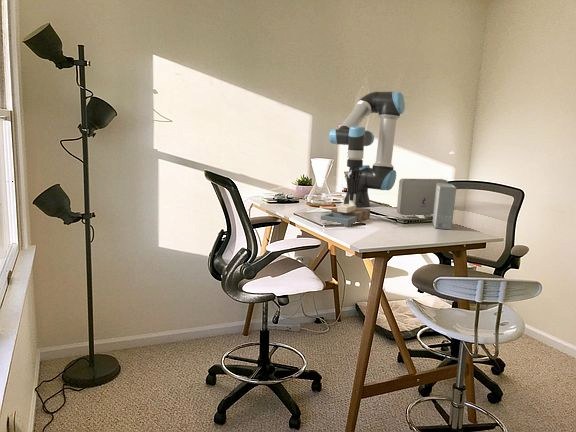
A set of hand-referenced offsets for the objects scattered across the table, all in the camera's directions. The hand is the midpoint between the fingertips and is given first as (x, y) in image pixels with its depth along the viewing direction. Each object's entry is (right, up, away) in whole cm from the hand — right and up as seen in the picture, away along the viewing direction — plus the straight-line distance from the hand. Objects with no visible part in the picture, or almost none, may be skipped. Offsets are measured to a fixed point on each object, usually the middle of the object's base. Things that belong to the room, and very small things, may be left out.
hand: (351, 206), depth 231 cm
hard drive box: (+42, -10, -6) cm, 44 cm away
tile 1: (-5, -2, -6) cm, 8 cm away
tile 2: (-2, -2, -2) cm, 3 cm away
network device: (+38, -5, +13) cm, 40 cm away
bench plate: (-1, -6, +1) cm, 6 cm away
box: (-8, -8, -10) cm, 15 cm away
